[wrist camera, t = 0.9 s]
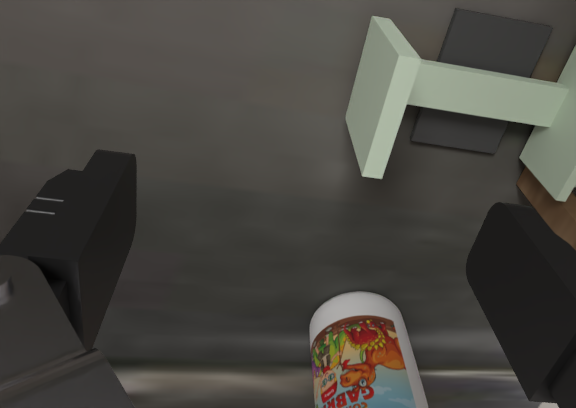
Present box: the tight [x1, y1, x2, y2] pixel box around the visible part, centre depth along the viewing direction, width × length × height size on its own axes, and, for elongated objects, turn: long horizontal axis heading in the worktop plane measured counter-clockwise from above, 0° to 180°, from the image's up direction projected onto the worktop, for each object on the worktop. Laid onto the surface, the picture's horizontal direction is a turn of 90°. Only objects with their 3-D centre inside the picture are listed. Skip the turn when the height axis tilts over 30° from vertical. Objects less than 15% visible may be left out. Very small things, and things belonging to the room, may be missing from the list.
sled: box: [345, 16, 576, 202], centre depth 27 cm, size 8×21×7 cm, turn 80°
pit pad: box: [410, 8, 553, 154], centre depth 29 cm, size 8×6×1 cm
